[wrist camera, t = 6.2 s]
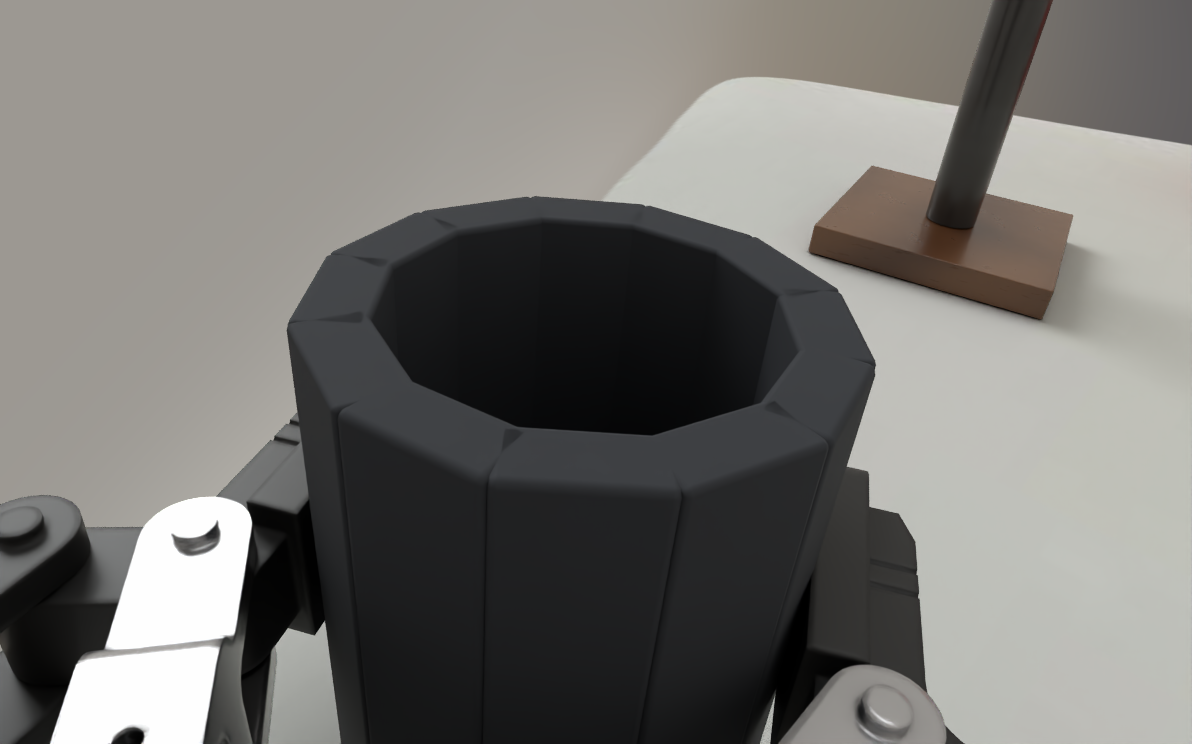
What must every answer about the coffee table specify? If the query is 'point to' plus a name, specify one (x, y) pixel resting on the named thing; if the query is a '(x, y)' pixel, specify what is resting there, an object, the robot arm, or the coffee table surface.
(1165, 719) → the coffee table surface
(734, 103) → the coffee table surface
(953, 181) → the stand
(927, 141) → the coffee table surface
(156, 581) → the robot arm
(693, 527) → the sleeve
